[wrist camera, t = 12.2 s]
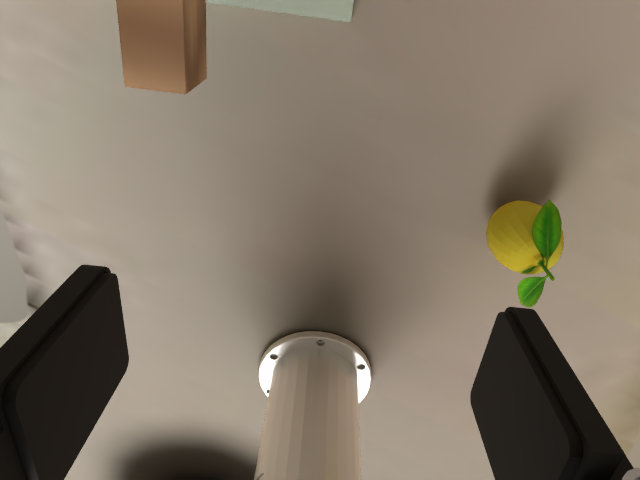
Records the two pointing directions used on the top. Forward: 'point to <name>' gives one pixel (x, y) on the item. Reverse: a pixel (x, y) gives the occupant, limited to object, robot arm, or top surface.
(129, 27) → the walnut bar
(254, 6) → the stand
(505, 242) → the lemon
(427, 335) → the top surface
